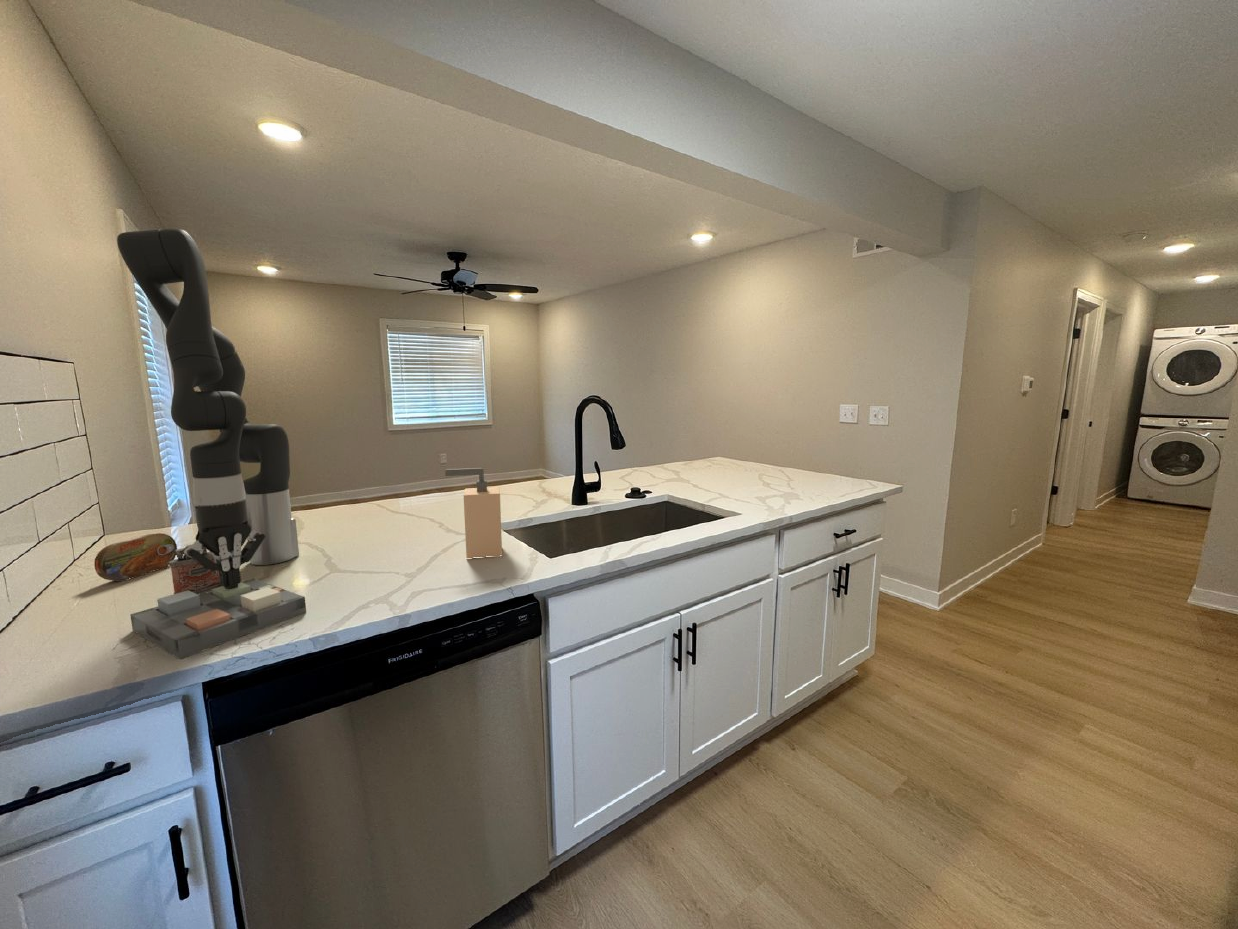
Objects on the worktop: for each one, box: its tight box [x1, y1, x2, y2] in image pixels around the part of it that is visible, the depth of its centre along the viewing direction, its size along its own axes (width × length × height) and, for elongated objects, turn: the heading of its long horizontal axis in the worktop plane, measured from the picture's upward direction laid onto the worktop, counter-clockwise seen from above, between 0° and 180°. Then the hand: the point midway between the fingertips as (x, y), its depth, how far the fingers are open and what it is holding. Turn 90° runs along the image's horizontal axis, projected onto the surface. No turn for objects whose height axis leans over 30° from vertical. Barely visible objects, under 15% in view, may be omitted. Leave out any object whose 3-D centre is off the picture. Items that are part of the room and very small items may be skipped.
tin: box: [93, 532, 178, 582], centre depth 113 cm, size 15×3×8 cm, turn 168°
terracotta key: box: [186, 609, 230, 631], centre depth 84 cm, size 4×4×2 cm
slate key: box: [156, 590, 201, 616], centre depth 89 cm, size 4×4×2 cm
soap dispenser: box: [444, 467, 503, 558], centre depth 126 cm, size 13×9×22 cm
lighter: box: [168, 544, 221, 595], centre depth 103 cm, size 8×3×10 cm, turn 148°
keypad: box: [130, 578, 307, 660], centre depth 90 cm, size 19×19×3 cm
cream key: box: [241, 587, 281, 612], centre depth 90 cm, size 4×4×2 cm
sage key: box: [212, 581, 251, 599], centre depth 96 cm, size 4×4×2 cm
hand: (231, 587), depth 96 cm, fingers closed
